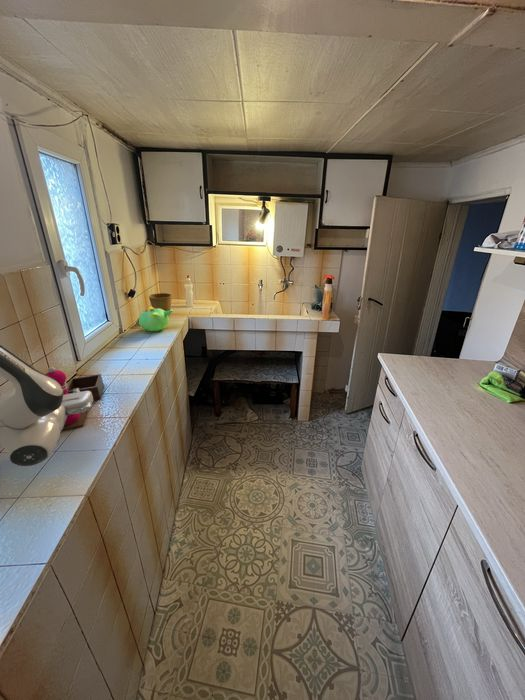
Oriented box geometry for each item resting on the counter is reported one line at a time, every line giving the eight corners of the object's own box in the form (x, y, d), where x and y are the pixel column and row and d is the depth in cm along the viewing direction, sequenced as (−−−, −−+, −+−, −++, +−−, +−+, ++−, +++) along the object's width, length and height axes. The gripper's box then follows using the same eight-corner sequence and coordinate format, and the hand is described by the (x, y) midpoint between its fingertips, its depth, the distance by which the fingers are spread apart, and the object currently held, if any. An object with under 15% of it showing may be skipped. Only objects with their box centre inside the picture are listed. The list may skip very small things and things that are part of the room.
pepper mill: (63, 429, 91) (43, 375, 82) (51, 422, 94) (31, 369, 86) (86, 416, 96) (69, 365, 88) (74, 410, 100) (57, 360, 91)
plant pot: (153, 322, 190) (149, 298, 184) (151, 315, 203) (148, 294, 196) (175, 319, 196) (172, 296, 189) (173, 313, 208) (170, 292, 202)
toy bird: (157, 324, 187) (153, 302, 181) (176, 327, 180) (173, 305, 174) (135, 332, 172) (130, 309, 166) (155, 337, 165) (151, 313, 159)
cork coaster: (47, 433, 89) (46, 432, 89) (55, 415, 98) (55, 414, 98) (83, 426, 93) (82, 424, 92) (88, 409, 101) (87, 407, 101)
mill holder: (100, 399, 107) (97, 386, 105) (68, 405, 103) (64, 392, 101) (104, 385, 116) (100, 373, 114) (74, 390, 112) (70, 378, 110)
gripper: (86, 400, 82) (93, 378, 94) (-1, 416, 75) (19, 390, 87) (92, 418, 85) (98, 394, 96) (8, 435, 78) (26, 407, 90)
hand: (60, 392), depth 92 cm, fingers open, 8 cm apart
